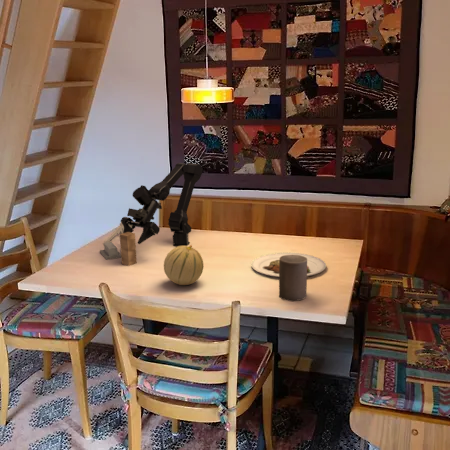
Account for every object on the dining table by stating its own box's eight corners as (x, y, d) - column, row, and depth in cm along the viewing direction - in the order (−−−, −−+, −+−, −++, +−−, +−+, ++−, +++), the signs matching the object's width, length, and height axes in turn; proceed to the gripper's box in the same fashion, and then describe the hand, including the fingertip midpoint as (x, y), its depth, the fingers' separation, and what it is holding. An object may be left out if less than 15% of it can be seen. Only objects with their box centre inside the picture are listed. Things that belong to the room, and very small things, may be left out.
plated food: (267, 253, 239) (267, 246, 238) (334, 261, 226) (334, 254, 225) (239, 274, 213) (239, 266, 212) (313, 285, 200) (313, 276, 199)
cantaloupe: (160, 280, 208) (158, 242, 204) (196, 274, 213) (195, 238, 209) (171, 293, 194) (169, 253, 191) (209, 287, 200) (208, 248, 196)
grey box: (100, 252, 244) (99, 242, 243) (115, 250, 247) (114, 240, 246) (106, 259, 234) (105, 249, 233) (122, 257, 237) (121, 247, 235)
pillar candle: (275, 299, 187) (275, 257, 184) (283, 289, 196) (283, 249, 193) (303, 302, 184) (304, 260, 180) (309, 292, 193) (310, 252, 189)
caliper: (122, 233, 276) (121, 221, 275) (124, 233, 276) (123, 221, 274) (102, 244, 257) (101, 231, 255) (105, 245, 257) (104, 232, 255)
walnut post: (129, 261, 231) (127, 231, 228) (136, 263, 229) (134, 233, 225) (121, 263, 228) (119, 234, 225) (129, 265, 225) (127, 235, 222)
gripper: (122, 198, 233) (104, 228, 227) (153, 203, 222) (135, 235, 216) (136, 212, 241) (119, 242, 235) (167, 218, 230) (150, 249, 224)
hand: (130, 242), depth 227 cm, fingers open, 9 cm apart
